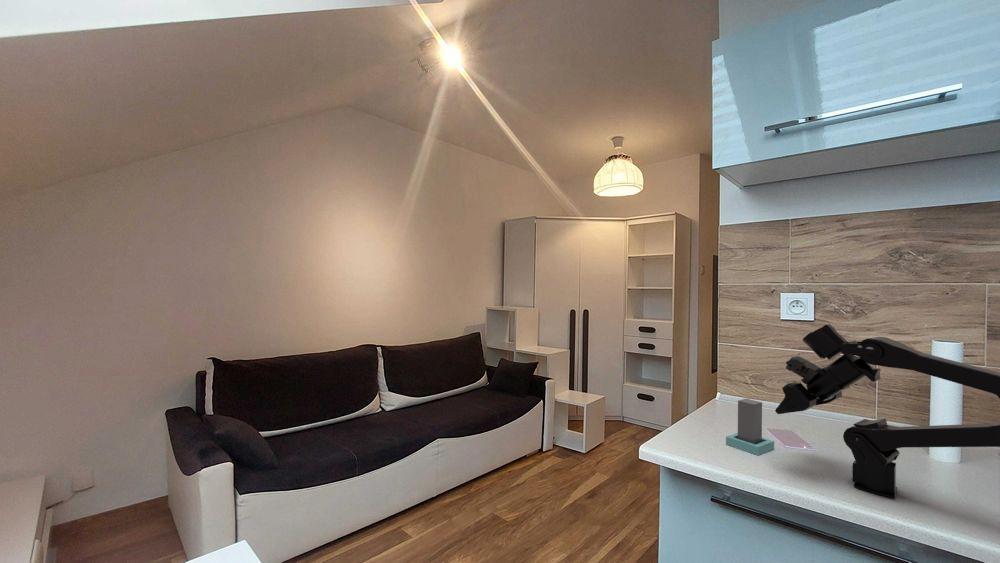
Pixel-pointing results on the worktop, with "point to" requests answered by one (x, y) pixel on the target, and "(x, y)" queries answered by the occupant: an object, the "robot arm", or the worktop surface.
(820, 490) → the worktop surface
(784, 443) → the mobile phone
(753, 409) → the grey rectangular block
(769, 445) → the socket block
